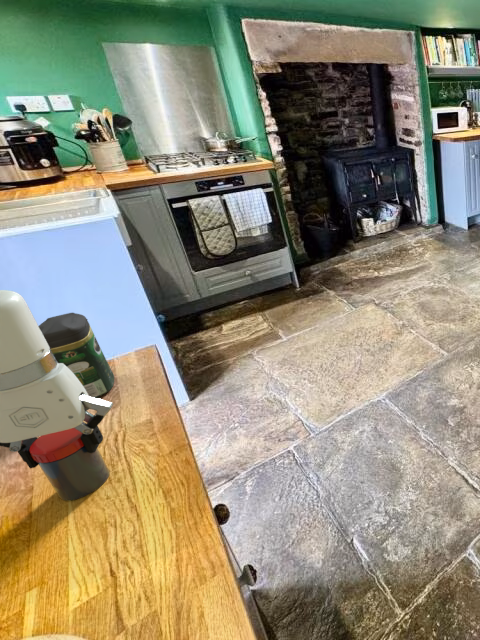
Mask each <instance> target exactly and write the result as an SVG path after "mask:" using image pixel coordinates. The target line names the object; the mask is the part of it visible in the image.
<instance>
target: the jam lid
mask: <svg viewBox="0 0 480 640" xmlns="http://www.w3.org/2000/svg"><path fill="white" fill-rule="evenodd" d="M82 434H83V433H81V432H80V431H78V430H76V429H74V428H72V429H68V430H64V431H60V432H56V433H51V434H47V435H43V436H38V437H37V438H38V439H36V440H35V441H34V442H33V444H32V445H31V446H30V449H29V451H30V454H31V456H32V458H33V459H34V461H37V462H40V463H47V462H53V461H57V460H59V459H62V458H65V457H67V456H69V455H71V454H73V453H74V452H76V451H78V450H79V449H80V448H82V447H83V446H84V444H83V442H82V440H81V438H80V437H81V435H82Z"/></svg>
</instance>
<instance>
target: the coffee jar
mask: <svg viewBox="0 0 480 640" xmlns="http://www.w3.org/2000/svg"><path fill="white" fill-rule="evenodd" d="M38 326H39V328H40V330H41V332H42V334H43V336H44V338H45V339H46V341H47V343H48V345H49V347H50V349H51V351H52V353H53V355H54V357H55V359H56V361H57V362H58V363H63V364H64V365H65V366H67V367H68V368H69V369H70V370H71V371H72V372H73V374H74V375H75V376H76V377H77V378H78V380H79V381H80V382H81V384H82V385H83V387H84V388H85V390H86V391H87V393H88V395H89V397H93V398H97V399H99V398H100V397H102V396H103V395H106V394H107V393H109V392H111V390H112V389H113V387H114V385H115V375H114V372H113V371H112V368H111V367H110V365H109V363H108V360H107V358H106V357H105V354H104V351H103V350H102V347H101V346H100V344H99V341H98V339H97V337H96V336H95V332H94V330H93V329H92V327H91V325H90V322H89V321H88V318H87V317H86V316H85V315H83V314H80V313H75V312H67V313H63V314H59V315H55V316H50V317H47V318H46V320H44V321H43V322H42V323H40V324H38Z"/></svg>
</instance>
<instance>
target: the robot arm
mask: <svg viewBox="0 0 480 640" xmlns="http://www.w3.org/2000/svg"><path fill="white" fill-rule="evenodd" d="M113 406H114V403H113V401H108V400H104V399H101V398H93V397H89V395H88V393H87V391H86V390H85V388H84V387H83V385H82V384H81V382H80V381H79V380H78V378H77V377H76V376H75V375H74V374H73V372H72V371H71V370H70V369H69V368H68V367H67V366H65V365H64V364H63V363H58V362H57V361H56V359H55V357H54V355H53V353H52V351H51V349H50V347H49V345H48V343H47V341H46V339H45V338H44V336H43V334H42V332H41V330H40V328H39V324H38V322H37V320H36V319H35V317H34V315H33V313H32V311H31V309H30V307H29V305H28V304H27V301H26V300H25V298H24V297H23V296H22V295H21V294H20V293H18V292H16V291H13V290H9V289H0V447H5V448H9V451H10V452H12V453H18V455H19V456H20V458H21V459H22V461H23V462H24V463H26V465H27V466H28V468H29V469H34V468H36V467H38V466H39V464H38V463H37V461H34V459H33V458H32V456H31V454H30V451H29V449H30V446H31V445H32V444H33V442H34V441H35V440H36V439H38V438H39V437H40V436H43V435H47V434H51V433H56V432H60V431H64V430H68V429H72V428H74V429H76V430H78V431H80V432H81V433H83V434H82V435H81V437H80V438H81V440H82V442H83V444H84V446H85V448H86V449H87V451H88V453H94V452H95V451H96V449H97V448H98V449H99V446H100V444H102V443H103V441H104V436H103V433H102V431H101V430H100V428H99V425H100V423H101V422H102V421H103V420H104V418H105V417H106V416H107V415H108V413H109V412H110V411H111V409H112V408H113ZM89 410H92V411H96V412H95V414H93V413H91V412H89Z"/></svg>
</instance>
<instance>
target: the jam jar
mask: <svg viewBox="0 0 480 640" xmlns="http://www.w3.org/2000/svg"><path fill="white" fill-rule="evenodd" d="M37 463H38V466H39V467H40V469H41V471H42V472H43V474H44V475H45V477H46V479H47V480H48V482H49V483H50V485H51V486H52V488H53V490H54V491H55V493H56V494H57V496H58V498H59V499H60V500H62V501H66V502H67V501H74V500H78V499H81V498H84V497H86V496H88V495H90V494H91V493H94V492H95V491H96V490H98V489H99V488H100V487H102V486H103V485H104V484H105V483H106V482H107V480H108V479H109V477H110V474H111V473H110V469H109V467H108V465H107V464H106V462H105V460H104V458H103V456H102V454H101V452H100V450H99V447H98V448H97V449H96V451H95V452H94V453H88V451H87V449H86V448H85V446H83V447H82V448H80V449H79V450H78V451H76V452H74V453H73V454H71V455H69V456H67V457H65V458H62V459H59V460H57V461H53V462H47V463H40V462H37Z"/></svg>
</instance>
